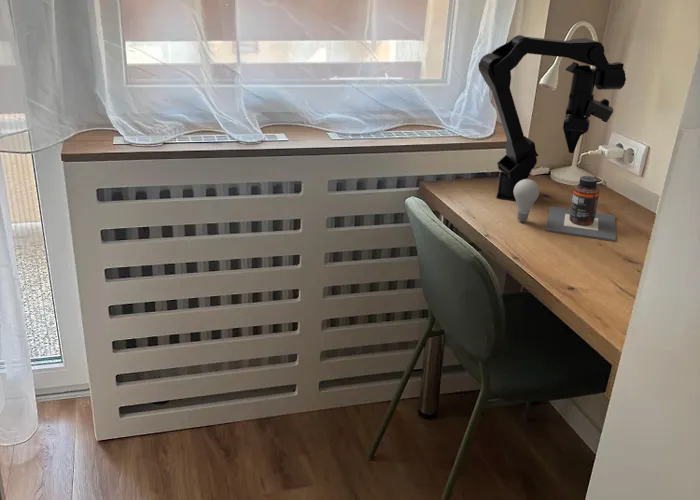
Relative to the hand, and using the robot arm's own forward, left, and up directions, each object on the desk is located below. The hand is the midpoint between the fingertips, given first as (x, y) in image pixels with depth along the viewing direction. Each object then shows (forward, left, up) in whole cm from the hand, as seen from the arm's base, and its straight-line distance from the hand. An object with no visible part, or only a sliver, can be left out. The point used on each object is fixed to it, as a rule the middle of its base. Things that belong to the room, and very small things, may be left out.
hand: (571, 148), depth 185 cm
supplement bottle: (+5, -21, -13) cm, 25 cm away
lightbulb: (-9, -25, -13) cm, 30 cm away
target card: (+5, -21, -13) cm, 25 cm away
